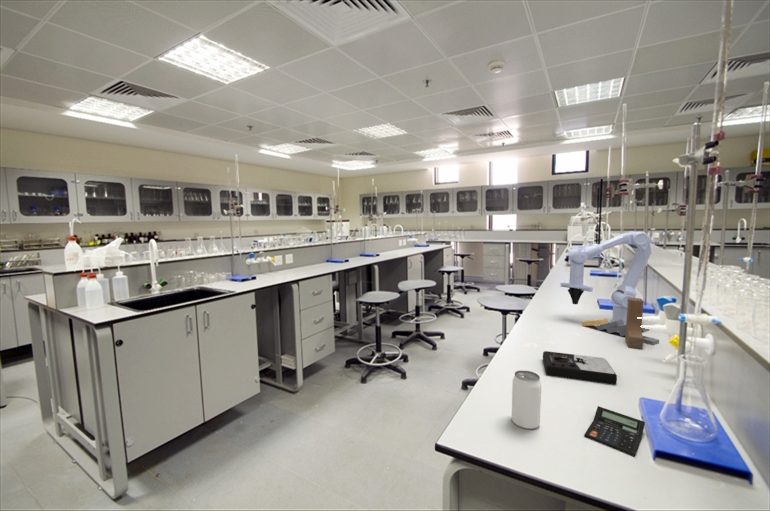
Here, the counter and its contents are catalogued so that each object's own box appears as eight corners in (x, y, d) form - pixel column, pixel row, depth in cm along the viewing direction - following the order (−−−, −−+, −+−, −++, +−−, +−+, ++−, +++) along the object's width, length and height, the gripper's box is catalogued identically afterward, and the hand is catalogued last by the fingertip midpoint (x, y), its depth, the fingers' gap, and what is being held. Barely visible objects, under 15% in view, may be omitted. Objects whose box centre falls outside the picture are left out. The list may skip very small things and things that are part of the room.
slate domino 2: (612, 326, 146) (633, 323, 139) (614, 331, 146) (635, 327, 138) (606, 328, 144) (627, 324, 137) (608, 333, 144) (629, 329, 136)
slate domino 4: (633, 333, 139) (659, 339, 131) (633, 337, 139) (658, 344, 131) (627, 335, 137) (652, 341, 129) (627, 339, 137) (652, 346, 129)
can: (516, 411, 86) (517, 367, 84) (543, 420, 81) (544, 374, 80) (507, 423, 81) (508, 376, 79) (535, 433, 76) (537, 384, 75)
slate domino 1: (602, 324, 150) (622, 319, 143) (604, 328, 149) (624, 324, 142) (596, 326, 148) (616, 321, 141) (598, 330, 147) (618, 325, 140)
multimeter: (542, 360, 118) (542, 346, 117) (605, 368, 111) (606, 354, 110) (546, 376, 105) (546, 361, 105) (617, 386, 98) (618, 370, 98)
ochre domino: (587, 320, 156) (606, 318, 148) (588, 324, 156) (608, 323, 148) (581, 321, 154) (600, 320, 146) (582, 326, 154) (601, 324, 146)
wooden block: (642, 349, 125) (645, 303, 123) (628, 347, 127) (631, 302, 125) (638, 342, 133) (641, 298, 131) (625, 340, 135) (627, 297, 133)
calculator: (584, 437, 75) (584, 425, 75) (597, 416, 83) (598, 405, 83) (634, 458, 69) (635, 444, 68) (644, 433, 77) (645, 421, 76)
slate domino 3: (624, 329, 142) (647, 325, 135) (626, 334, 142) (649, 330, 134) (618, 331, 140) (641, 327, 133) (620, 336, 140) (643, 332, 132)
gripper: (557, 274, 161) (555, 301, 163) (586, 279, 149) (585, 308, 150) (566, 273, 165) (564, 300, 166) (595, 277, 152) (594, 306, 153)
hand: (575, 303), depth 158 cm, fingers closed
